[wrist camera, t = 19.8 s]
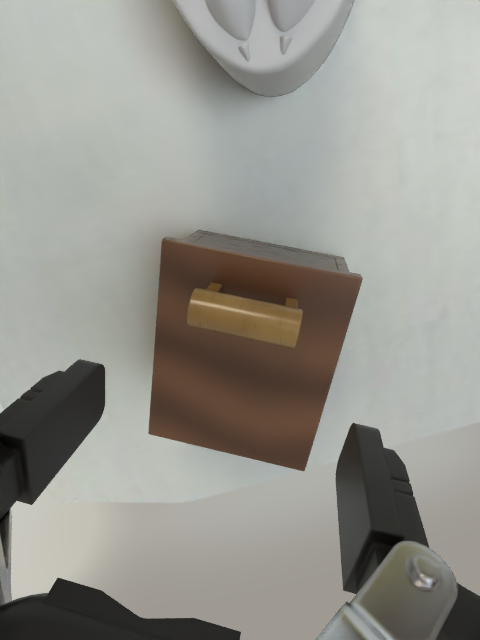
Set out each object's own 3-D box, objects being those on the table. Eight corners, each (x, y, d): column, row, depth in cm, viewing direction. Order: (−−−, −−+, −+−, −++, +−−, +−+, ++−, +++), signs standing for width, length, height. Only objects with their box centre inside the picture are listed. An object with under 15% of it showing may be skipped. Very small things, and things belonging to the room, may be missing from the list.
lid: (166, 236, 22) (129, 256, 18) (361, 274, 21) (376, 305, 17) (152, 427, 28) (121, 480, 24) (304, 463, 27) (304, 526, 23)
